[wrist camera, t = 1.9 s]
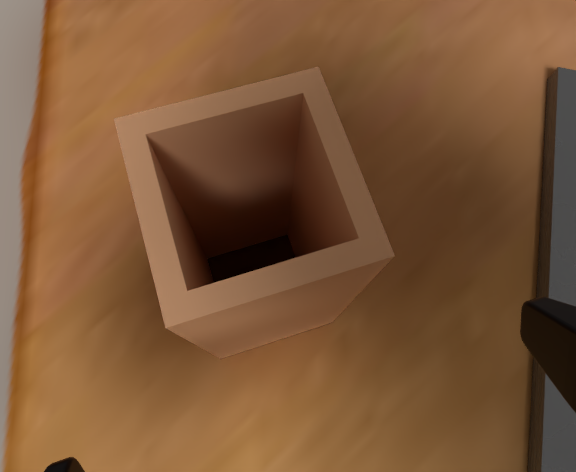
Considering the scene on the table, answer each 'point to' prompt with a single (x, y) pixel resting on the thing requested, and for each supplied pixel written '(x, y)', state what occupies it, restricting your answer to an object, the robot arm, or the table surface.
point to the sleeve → (252, 210)
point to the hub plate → (556, 271)
